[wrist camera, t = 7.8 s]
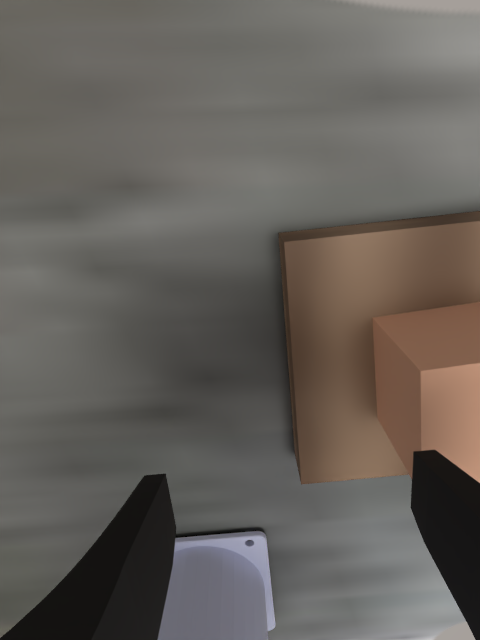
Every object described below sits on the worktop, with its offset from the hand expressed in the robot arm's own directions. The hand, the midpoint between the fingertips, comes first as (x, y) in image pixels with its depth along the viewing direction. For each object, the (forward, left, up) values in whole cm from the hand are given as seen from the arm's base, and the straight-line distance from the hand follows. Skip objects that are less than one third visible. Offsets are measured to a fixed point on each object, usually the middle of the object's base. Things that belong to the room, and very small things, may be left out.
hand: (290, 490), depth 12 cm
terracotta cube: (+7, 0, -7) cm, 10 cm away
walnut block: (+7, 0, -10) cm, 12 cm away
